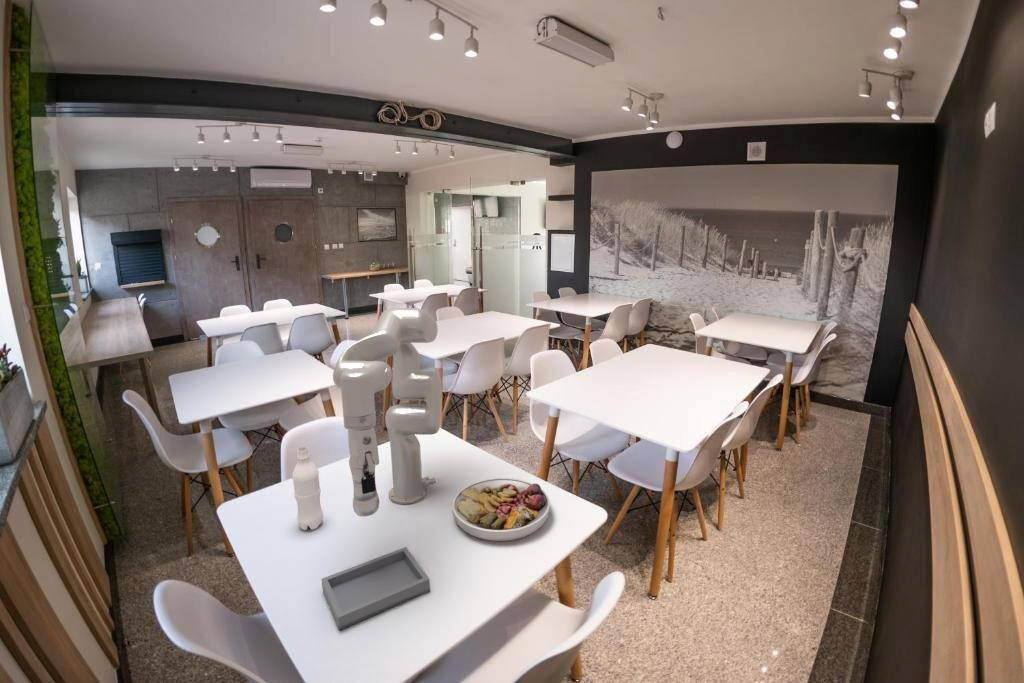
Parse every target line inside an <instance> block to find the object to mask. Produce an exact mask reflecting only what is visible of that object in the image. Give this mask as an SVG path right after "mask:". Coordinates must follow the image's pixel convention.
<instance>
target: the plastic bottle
mask: <svg viewBox="0 0 1024 683" xmlns="http://www.w3.org/2000/svg"><path fill="white" fill-rule="evenodd" d="M349 456H350V455H349ZM372 461H373V460H372ZM348 464H349V469H350V473H351V477H352V483H353V498H352V508H353V512H354V513H355V514H356V516H359V517H364V518H365V517H369V516H372V515H374V514H376V512H377V511H378V509H379V508H380V497H379V494H378V491H377V489H376V490H375V491H373V492H370V493H366V494H363V493H362V483H361V479H362V478H363V477H362V472H361V468H359V467H358V465H357V462H356V459H355V457H354V455H353V454H351V456H350V457H349V460H348ZM373 464H374V463H373ZM366 465H367V463H364V464H363V466H366ZM374 468H375V469H376V465H375V464H374ZM364 470H365V473H366V471H368V468H365V469H364ZM375 486H376V487H377V484H376V483H375Z"/></svg>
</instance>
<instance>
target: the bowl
mask: <svg viewBox="0 0 1024 683" xmlns="http://www.w3.org/2000/svg"><path fill="white" fill-rule="evenodd" d="M550 501H551V500H550V498H549V496H548V494H547V493H546V492H545V491H544V490H543V489H542V487H541V486H540V485H539V484H538V483H531V482H529V481H526V480H522V479H519V478H510V477H509V478H507V477H495V478H487V479H483V480H479V481H475V482H473V483H471V484H469V485H467V486H464V488H461V490H459V491H458V493H457V494H456V495H455V496H454V498H453V500H452V503H451V509H452V515H453V518H454V520H455V522H456V524H457V525H458V526H459V528H461V529H462V530H463V531H465V532H466V533H467V534H469V535H471V536H473V537H476V538H478V539H482V540H485V541H490V542H491V541H492V542H494V541H495V542H504V541H505V542H507V541H508V542H509V541H514V540H518V539H522V538H524V537H528V536H529V535H532V534H533V533H535V532H536V531H537V530H539V529H540V528H541V527H542V526H543V525H544V524H545V522H546V521H547V519H548V518H549V515H550V510H551V502H550Z"/></svg>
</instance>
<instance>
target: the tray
mask: <svg viewBox="0 0 1024 683" xmlns="http://www.w3.org/2000/svg"><path fill="white" fill-rule="evenodd" d="M321 586H322V587H321V588H322V592H323V596H324V597H325V599H326V602H327V605H328V608H329V609H331V610H330V612H331V613H332V617H333V619H334V621H335V624H336V627H337V628H338V631H339V632H340V631H343V630H345V629H348V628H349V627H351V626H354V625H357V624H358V623H362V622H363V621H366V620H368V619H369V618H372V617H375V616H376V615H380V614H382V613H384V612H386V611H388V610H390V609H393V608H395V607H397V606H400V605H401V604H404V603H407V602H409V601H411V600H413V599H416V598H418V597H421V596H422V595H425V594H427V593H429V592H431V583H430V578H429V576H428V574H426V572H425V570H424V569H423V568H422V566H421V565H420V564H419V562H418V561H417V559H416V558H415V557H414V555H412V553H411V552H410V550H409V549H408V548H407V546H405V547H402V548H399V549H397V550H395V551H394V550H393V551H392V552H389V553H386V554H384V555H381V556H379V557H376V558H373V559H370V560H367V561H365V562H363V563H362V562H361V563H359V564H356V565H355V566H352V567H349V568H346V569H344V570H342V571H339V572H338V571H337V572H335V573H333V574H330V575H328V576H325V577H323V578H321Z"/></svg>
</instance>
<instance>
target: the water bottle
mask: <svg viewBox="0 0 1024 683" xmlns="http://www.w3.org/2000/svg"><path fill="white" fill-rule="evenodd" d="M296 451H297V453H296V455H297V456H296V459H297V462H296V465H295V467H294V469H293V471H292V481H293V482H292V483H293V490H294V499H295V501H296V505H297V515H296V518H297V519H296V520H297V524H298V526H299V527H300V528H301V530H303V531H307V530H308V528H310V530H313V531H314V530H316V529H317V528H318V527H319V525H321V524H322V523H323V519H324V512H323V509H322V506H321V486H320V478H319V475H320V474H319V470H318V468H317V466H316V464H315V463H314V462H313V461H312V460H311V457H310V456H311V454H310V451H309V446H302V447H299V448H297V449H296Z"/></svg>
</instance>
